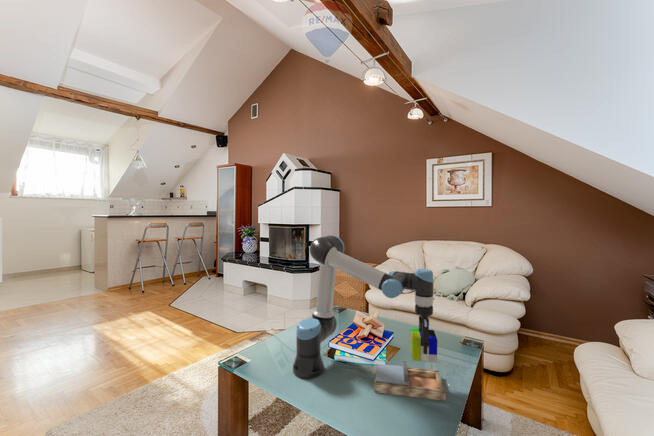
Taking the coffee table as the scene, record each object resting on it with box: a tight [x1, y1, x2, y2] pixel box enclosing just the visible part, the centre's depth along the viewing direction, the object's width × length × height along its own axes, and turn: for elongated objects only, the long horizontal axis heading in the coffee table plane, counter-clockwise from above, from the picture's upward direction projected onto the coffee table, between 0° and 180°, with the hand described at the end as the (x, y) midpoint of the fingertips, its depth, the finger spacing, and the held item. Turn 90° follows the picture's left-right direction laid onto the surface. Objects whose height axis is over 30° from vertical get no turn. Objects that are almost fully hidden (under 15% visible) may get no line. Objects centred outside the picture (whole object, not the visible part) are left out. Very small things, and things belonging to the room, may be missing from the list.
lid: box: [375, 360, 409, 386], centre depth 136 cm, size 14×14×4 cm
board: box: [373, 363, 447, 402], centre depth 135 cm, size 29×18×3 cm, turn 79°
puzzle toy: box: [410, 327, 438, 364], centre depth 133 cm, size 10×10×10 cm
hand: (423, 354), depth 133 cm, fingers closed on puzzle toy, 10 cm apart
